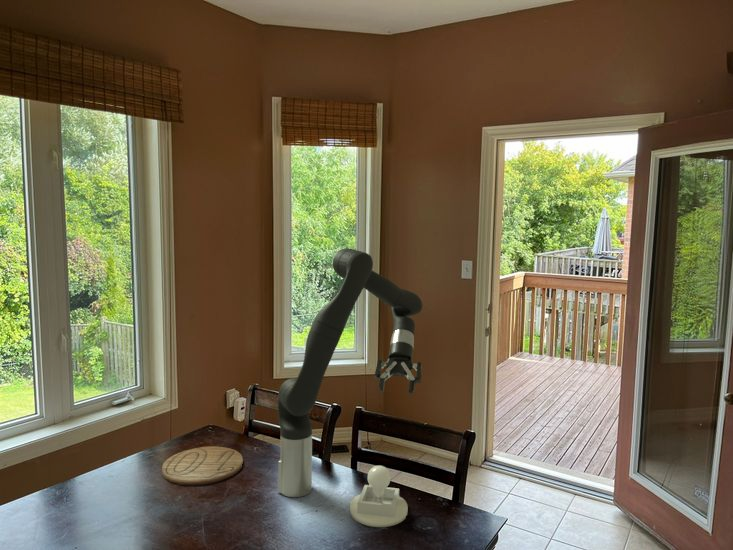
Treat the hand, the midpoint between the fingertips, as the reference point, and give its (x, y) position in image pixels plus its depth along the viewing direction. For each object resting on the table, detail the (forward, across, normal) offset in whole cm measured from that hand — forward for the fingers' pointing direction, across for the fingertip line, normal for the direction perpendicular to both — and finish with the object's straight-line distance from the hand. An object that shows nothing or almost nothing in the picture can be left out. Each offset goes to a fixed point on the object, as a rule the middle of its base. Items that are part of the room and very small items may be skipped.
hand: (396, 392), depth 159 cm
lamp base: (+32, -2, +8) cm, 33 cm away
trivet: (+23, -62, +19) cm, 69 cm away
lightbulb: (+31, -2, +8) cm, 32 cm away
